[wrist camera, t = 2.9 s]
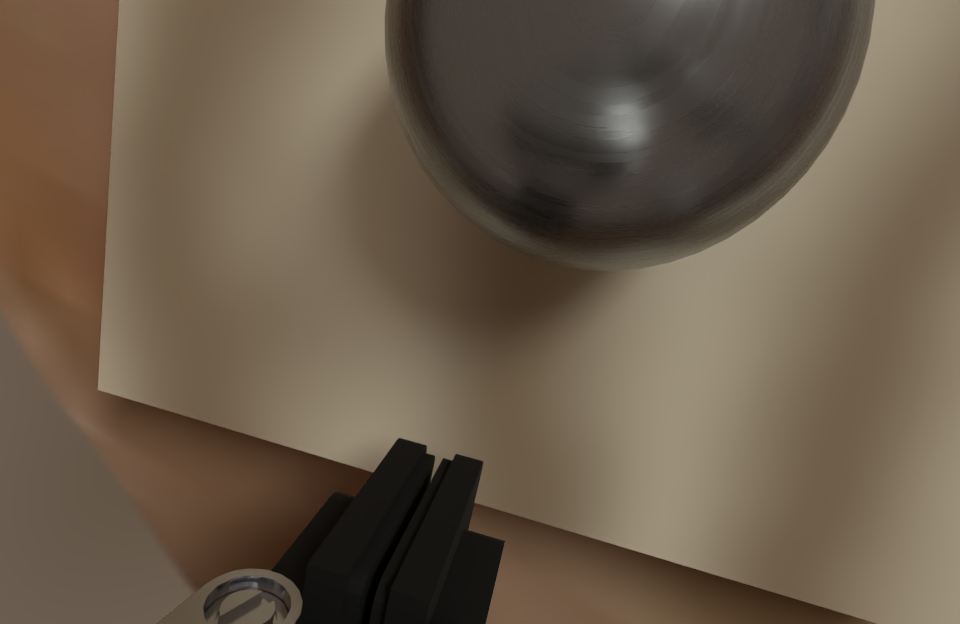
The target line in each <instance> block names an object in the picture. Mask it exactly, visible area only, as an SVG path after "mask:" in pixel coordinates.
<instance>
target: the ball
mask: <svg viewBox="0 0 960 624" xmlns="http://www.w3.org/2000/svg"><path fill="white" fill-rule="evenodd" d="M874 8H875V0H386V7H385V18H384V19H385V56H386V63H387V71H388V78H389V85H390V89H391V93H392V97H393V101H394V105H395V109H396V113H397V116H398V118H399V121H400V123H401V126H402V128H403V131H404V134H405V136H406V139H407V141H408V143H409V145H410V147H411V149H412V151H413V152H414V154H415V156H416V158H417V160H418V162H419V163H420V165H421V167H422V169H423V170H424V171H425V173H426V174H427V175H428V177H429V178H430V180H431V181H432V182H433V184H434V185H435V187H436V188H437V189H438V191H439V192H440V193H441V194H442V195H443V196H444V197H445V198H446V199H447V200H448V201H449V202H450V204H451V205H452V206H453V207H454V208H455V209H456V210H457V211H458V212H459V213H460V214H461V215H463V216H464V217H465V218H466V219H467V220H469V221H470V222H471V223H472V224H473V225H475V226H476V227H477V228H478V229H480V230H481V231H482V232H484V233H485V234H487V235H489V236H490V237H492V238H493V239H495V240H497V241H498V242H500V243H501V244H503V245H505V246H507V247H509V248H511V249H513V250H515V251H518V252H520V253H522V254H524V255H526V256H528V257H531V258H535V259H538V260H541V261H544V262H547V263H551V264H554V265H558V266H564V267H570V268H575V269H581V270H597V271H620V270H632V269H642V268H647V267H651V266H656V265H661V264H666V263H670V262H673V261H676V260H679V259H682V258H685V257H688V256H691V255H694V254H696V253H699V252H701V251H703V250H705V249H707V248H709V247H712V246H714V245H716V244H718V243H720V242H722V241H724V240H726V239H728V238H729V237H731V236H732V235H734V234H735V233H737V232H739V231H740V230H742V229H743V228H745V227H746V226H748V225H749V224H751V223H752V222H754V221H755V220H757V219H758V218H759V217H760V216H762V215H763V214H764V213H765V212H766V211H768V210H769V209H770V208H771V207H772V206H774V205H775V204H776V203H777V202H778V201H780V200H781V199H782V198H783V197H784V196H785V195H786V194H787V193H788V192H789V191H790V190H791V189H792V188H793V187H794V186H795V185H796V184H797V182H798V181H799V180H800V179H801V178H802V177H803V176H804V175H805V174H806V173H807V172H808V170H809V169H810V168H811V166H812V165H813V164H814V162H815V161H816V160H817V158H818V157H819V156H820V154H821V153H822V151H823V150H824V149H825V147H826V146H827V145H828V143H829V141H830V139H831V138H832V136H833V134H834V132H835V131H836V129H837V127H838V125H839V124H840V122H841V120H842V118H843V117H844V115H845V113H846V111H847V108H848V106H849V103H850V101H851V99H852V96H853V94H854V91H855V89H856V87H857V84H858V82H859V79H860V75H861V72H862V68H863V64H864V61H865V57H866V54H867V50H868V46H869V42H870V36H871V29H872V22H873V15H874Z"/></svg>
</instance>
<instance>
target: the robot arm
mask: <svg viewBox="0 0 960 624" xmlns="http://www.w3.org/2000/svg"><path fill="white" fill-rule="evenodd" d="M426 452H427V445H424V444H420V443H416V442H413V441H409V440H406V439H402V438H398V439H397V440H396V442H395V443H394V445H393V446H392V447H391V449H390V450H389V452H388V453H387V454H386V456H385V457H384V458H383V460H382V461H381V463H380V464H379V465H378V467H377V468H376V470H375V471H374V472H373V474H372V475H371V476H370V478H369V479H368V481H367V482H366V483H365V485H364V486H363V487H362V489H361V490H360V492H359V493H358V494H357V496H356V497H353V496H350V495H347V494H343V493H340V492H335V493H334V494H333V495H332V496H331V497H330V498H329V499H328V501H327V502H326V503H325V504H324V506H323V507H322V508H321V509H320V511H319V512H318V513H317V514H316V516H315V517H314V518H313V519H312V521H311V522H310V523H309V524H308V526H307V527H306V528H305V529H304V531H303V532H302V533H301V534H300V536H299V537H298V538H297V539H296V541H295V542H294V543H293V544H292V546H291V547H290V548H289V549H288V551H287V552H286V553H285V554H284V556H283V557H282V558H281V559H280V561H279V562H278V563H277V564H276V566H275V567H274V568H273V569H272V571H269V570H265V569H252V568H250V569H242V570H234V571H231V572H229V573H226V574H223V575H220V576H218V577H216V578H215V579H213V580H211V581H210V582H208V583H206V584H205V585H204V586H203V587H201V588H200V589H199V590H198V591H196V592H195V593H194V594H193V595H191V596H190V597H189V598H188V599H187V600H185V601H184V602H183V603H182V604H181V605H179V606H178V607H177V608H176V609H174V610H173V611H172V612H171V613H169V614H168V615H167V616H166V617H164V618H163V619H162V620H161V621H159V622H158V623H157V624H485V623H486V619H487V615H488V611H489V606H490V602H491V598H492V594H493V589H494V585H495V581H496V577H497V572H498V568H499V564H500V560H501V555H502V551H503V547H504V542H505V541H502V540H499V539H496V538H492V537H489V536H486V535H482V534H479V533H475V532H472V531H469V530H468V528H469V524H470V519H471V515H472V511H473V507H474V502H475V498H476V494H477V489H478V485H479V481H480V477H481V472H482V468H483V462H484V461H481V460H477V459H473V458H470V457H466V456H463V455H459V454H455V456H454V458H453V460H449V459H445V458H443V459H442V461H441V463H440V465H439V467H438V468H437V470H436V472H435V474H434V476H433V478H432V480H431V477H432V472H433V467H434V462H435V455H431V454H427V453H426Z"/></svg>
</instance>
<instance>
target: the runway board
mask: <svg viewBox="0 0 960 624" xmlns="http://www.w3.org/2000/svg"><path fill="white" fill-rule="evenodd" d="M385 7H386V0H119V16H118V34H117V52H116V70H115V88H114V107H113V125H112V143H111V161H110V179H109V197H108V215H107V233H106V251H105V269H104V287H103V305H102V323H101V341H100V359H99V377H98V390H100V391H103V392H107V393H110V394H113V395H117V396H120V397H123V398H127V399H130V400H133V401H137V402H140V403H143V404H147V405H150V406H153V407H157V408H160V409H163V410H167V411H170V412H173V413H177V414H180V415H183V416H187V417H190V418H193V419H197V420H200V421H203V422H207V423H210V424H213V425H217V426H220V427H223V428H227V429H230V430H233V431H237V432H240V433H243V434H247V435H250V436H253V437H257V438H260V439H263V440H267V441H270V442H273V443H277V444H280V445H283V446H287V447H290V448H293V449H297V450H300V451H303V452H307V453H310V454H313V455H317V456H320V457H324V458H327V459H330V460H334V461H337V462H340V463H344V464H347V465H350V466H354V467H357V468H360V469H364V470H367V471H370V472H374V471H375V470H376V468H377V467H378V465H379V464H380V463H381V461H382V460H383V458H384V457H385V456H386V454H387V453H388V452H389V450H390V449H391V447H392V446H393V445H394V443H395V442H396V440H397V439H398V438H402V439H406V440H409V441H413V442H416V443H420V444H424V445H427V452H426V453H427V454H431V455H435V462H434V467H433V472H432V477H431V480H432V478H433V476H434V474H435V472H436V470H437V468H438V467H439V465H440V463H441V461H442V459H443V458H445V459H449V460H453V458H454V456H455V454H459V455H463V456H466V457H470V458H473V459H477V460H481V461H484V462H483V468H482V472H481V477H480V481H479V485H478V489H477V494H476V498H475V502H474V503H477V504H480V505H484V506H487V507H490V508H494V509H497V510H500V511H504V512H507V513H510V514H514V515H517V516H520V517H524V518H527V519H530V520H534V521H537V522H540V523H544V524H547V525H550V526H554V527H557V528H560V529H564V530H567V531H570V532H574V533H577V534H580V535H584V536H587V537H590V538H594V539H597V540H600V541H604V542H607V543H610V544H614V545H617V546H620V547H624V548H627V549H630V550H634V551H637V552H640V553H644V554H647V555H650V556H654V557H657V558H660V559H664V560H667V561H670V562H674V563H677V564H680V565H684V566H687V567H690V568H694V569H697V570H700V571H704V572H707V573H710V574H714V575H717V576H720V577H724V578H727V579H730V580H734V581H737V582H740V583H744V584H747V585H750V586H754V587H757V588H760V589H764V590H767V591H770V592H774V593H777V594H780V595H784V596H787V597H790V598H794V599H797V600H800V601H804V602H807V603H810V604H814V605H817V606H820V607H824V608H827V609H830V610H834V611H837V612H840V613H844V614H847V615H850V616H854V617H857V618H860V619H864V620H867V621H870V622H874V623H877V624H960V0H875V8H874V15H873V22H872V29H871V36H870V42H869V46H868V50H867V54H866V57H865V61H864V64H863V68H862V72H861V75H860V79H859V82H858V84H857V87H856V89H855V91H854V94H853V96H852V99H851V101H850V103H849V106H848V108H847V111H846V113H845V115H844V117H843V118H842V120H841V122H840V124H839V125H838V127H837V129H836V131H835V132H834V134H833V136H832V138H831V139H830V141H829V143H828V145H827V146H826V147H825V149H824V150H823V151H822V153H821V154H820V156H819V157H818V158H817V160H816V161H815V162H814V164H813V165H812V166H811V168H810V169H809V170H808V172H807V173H806V174H805V175H804V176H803V177H802V178H801V179H800V180H799V181H798V182H797V184H796V185H795V186H794V187H793V188H792V189H791V190H790V191H789V192H788V193H787V194H786V195H785V196H784V197H783V198H782V199H781V200H780V201H778V202H777V203H776V204H775V205H774V206H772V207H771V208H770V209H769V210H768V211H766V212H765V213H764V214H763V215H762V216H760V217H759V218H758V219H757V220H755V221H754V222H752V223H751V224H749V225H748V226H746V227H745V228H743V229H742V230H740V231H739V232H737V233H735V234H734V235H732V236H731V237H729V238H728V239H726V240H724V241H722V242H720V243H718V244H716V245H714V246H712V247H709V248H707V249H705V250H703V251H701V252H699V253H696V254H694V255H691V256H688V257H685V258H682V259H679V260H676V261H673V262H670V263H666V264H661V265H656V266H651V267H647V268H642V269H632V270H620V271H597V270H581V269H575V268H570V267H564V266H558V265H554V264H551V263H547V262H544V261H541V260H538V259H535V258H531V257H528V256H526V255H524V254H522V253H520V252H518V251H515V250H513V249H511V248H509V247H507V246H505V245H503V244H501V243H500V242H498V241H497V240H495V239H493V238H492V237H490V236H489V235H487V234H485V233H484V232H482V231H481V230H480V229H478V228H477V227H476V226H475V225H473V224H472V223H471V222H470V221H469V220H467V219H466V218H465V217H464V216H463V215H461V214H460V213H459V212H458V211H457V210H456V209H455V208H454V207H453V206H452V205H451V204H450V202H449V201H448V200H447V199H446V198H445V197H444V196H443V195H442V194H441V193H440V192H439V191H438V189H437V188H436V187H435V185H434V184H433V182H432V181H431V180H430V178H429V177H428V175H427V174H426V173H425V171H424V170H423V169H422V167H421V165H420V163H419V162H418V160H417V158H416V156H415V154H414V152H413V151H412V149H411V147H410V145H409V143H408V141H407V139H406V136H405V134H404V131H403V128H402V126H401V123H400V121H399V118H398V116H397V113H396V109H395V105H394V101H393V97H392V93H391V89H390V85H389V78H388V71H387V63H386V56H385V19H384V18H385Z"/></svg>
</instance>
